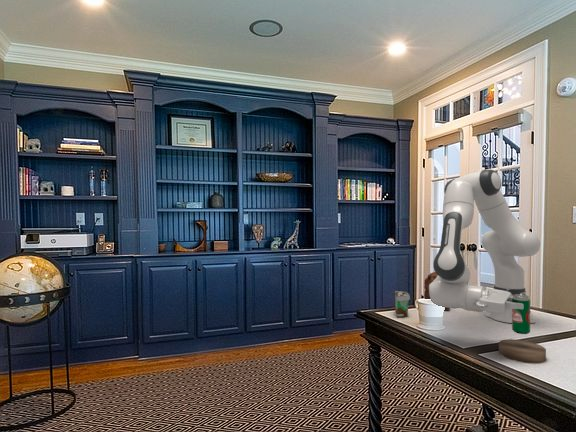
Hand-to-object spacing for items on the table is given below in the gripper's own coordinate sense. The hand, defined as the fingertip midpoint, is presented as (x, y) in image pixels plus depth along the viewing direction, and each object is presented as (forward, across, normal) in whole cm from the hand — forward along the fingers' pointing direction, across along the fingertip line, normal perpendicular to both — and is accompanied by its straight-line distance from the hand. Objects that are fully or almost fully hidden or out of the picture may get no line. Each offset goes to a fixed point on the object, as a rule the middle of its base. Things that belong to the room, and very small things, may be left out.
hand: (524, 304), depth 121 cm
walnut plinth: (-1, 0, +17) cm, 17 cm away
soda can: (-1, 0, +10) cm, 10 cm away
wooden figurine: (-39, +45, +17) cm, 62 cm away
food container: (-49, +25, +17) cm, 57 cm away
